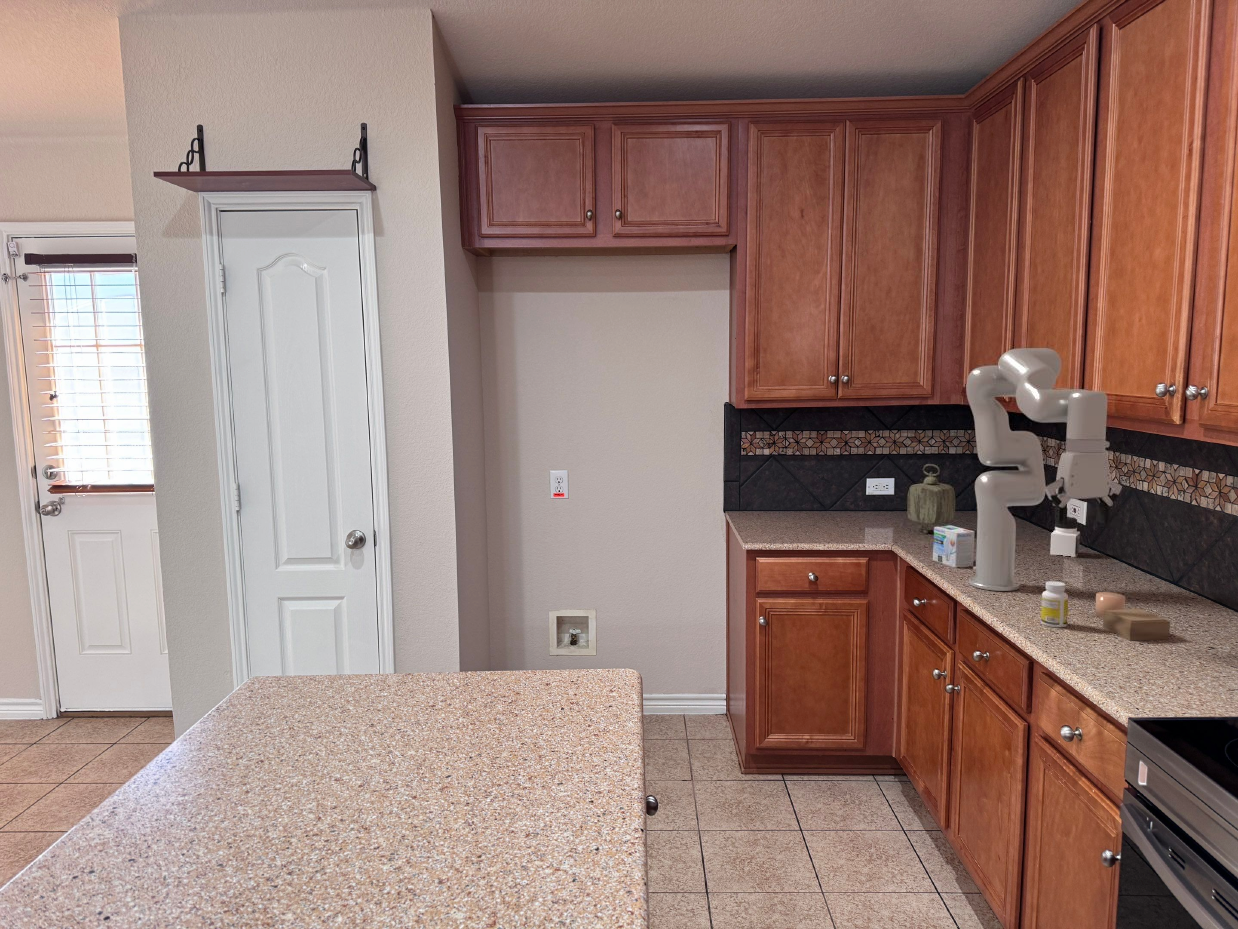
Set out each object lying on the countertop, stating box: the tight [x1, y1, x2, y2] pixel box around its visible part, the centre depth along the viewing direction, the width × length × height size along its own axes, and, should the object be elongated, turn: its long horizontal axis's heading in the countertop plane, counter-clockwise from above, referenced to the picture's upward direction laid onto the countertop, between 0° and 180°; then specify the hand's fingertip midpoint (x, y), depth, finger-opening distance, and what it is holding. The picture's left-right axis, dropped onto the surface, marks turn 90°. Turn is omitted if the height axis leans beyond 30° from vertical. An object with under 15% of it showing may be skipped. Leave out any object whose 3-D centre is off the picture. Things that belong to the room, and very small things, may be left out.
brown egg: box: [1094, 591, 1126, 619], centre depth 197 cm, size 6×6×5 cm
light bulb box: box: [932, 525, 976, 568], centre depth 250 cm, size 11×7×11 cm, turn 18°
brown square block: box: [1102, 608, 1171, 641], centre depth 184 cm, size 9×9×4 cm
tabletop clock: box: [906, 463, 956, 535], centre depth 295 cm, size 14×9×25 cm, turn 32°
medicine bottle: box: [1049, 515, 1081, 558], centre depth 260 cm, size 7×7×12 cm
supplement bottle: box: [1040, 581, 1069, 628], centre depth 190 cm, size 5×5×10 cm
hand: (1081, 523), depth 183 cm, fingers open, 9 cm apart
